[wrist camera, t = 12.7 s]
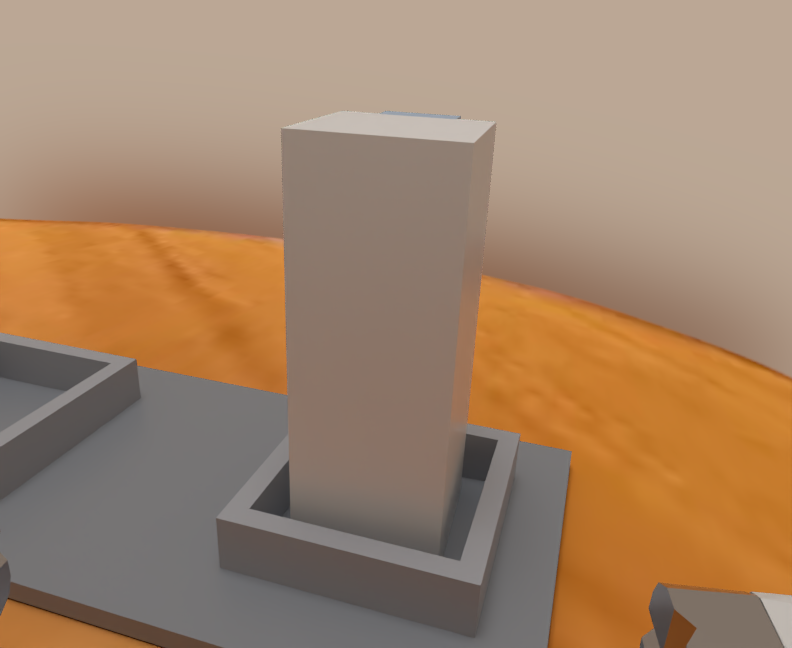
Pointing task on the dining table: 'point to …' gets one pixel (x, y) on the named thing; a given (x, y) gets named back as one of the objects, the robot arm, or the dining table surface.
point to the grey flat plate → (246, 520)
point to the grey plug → (382, 317)
